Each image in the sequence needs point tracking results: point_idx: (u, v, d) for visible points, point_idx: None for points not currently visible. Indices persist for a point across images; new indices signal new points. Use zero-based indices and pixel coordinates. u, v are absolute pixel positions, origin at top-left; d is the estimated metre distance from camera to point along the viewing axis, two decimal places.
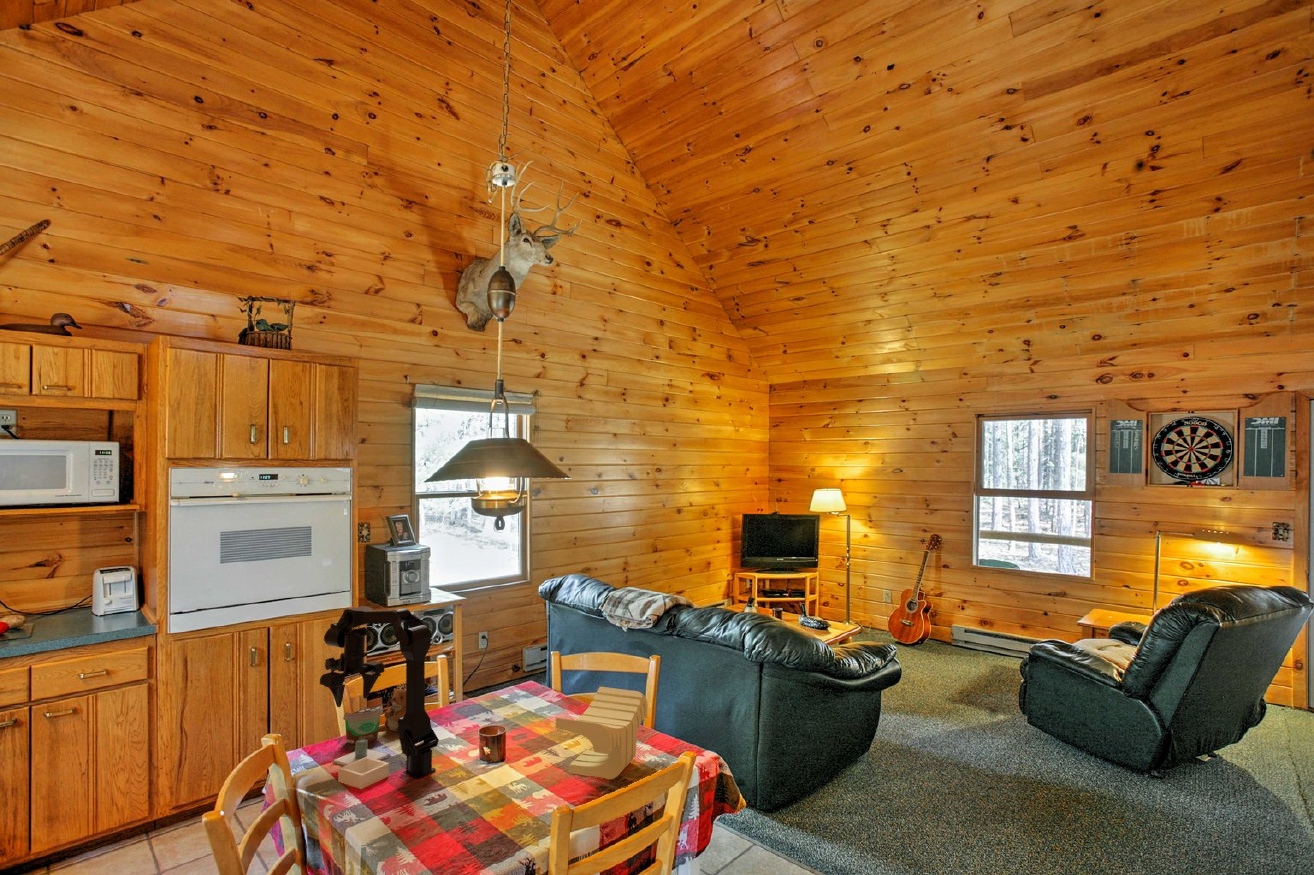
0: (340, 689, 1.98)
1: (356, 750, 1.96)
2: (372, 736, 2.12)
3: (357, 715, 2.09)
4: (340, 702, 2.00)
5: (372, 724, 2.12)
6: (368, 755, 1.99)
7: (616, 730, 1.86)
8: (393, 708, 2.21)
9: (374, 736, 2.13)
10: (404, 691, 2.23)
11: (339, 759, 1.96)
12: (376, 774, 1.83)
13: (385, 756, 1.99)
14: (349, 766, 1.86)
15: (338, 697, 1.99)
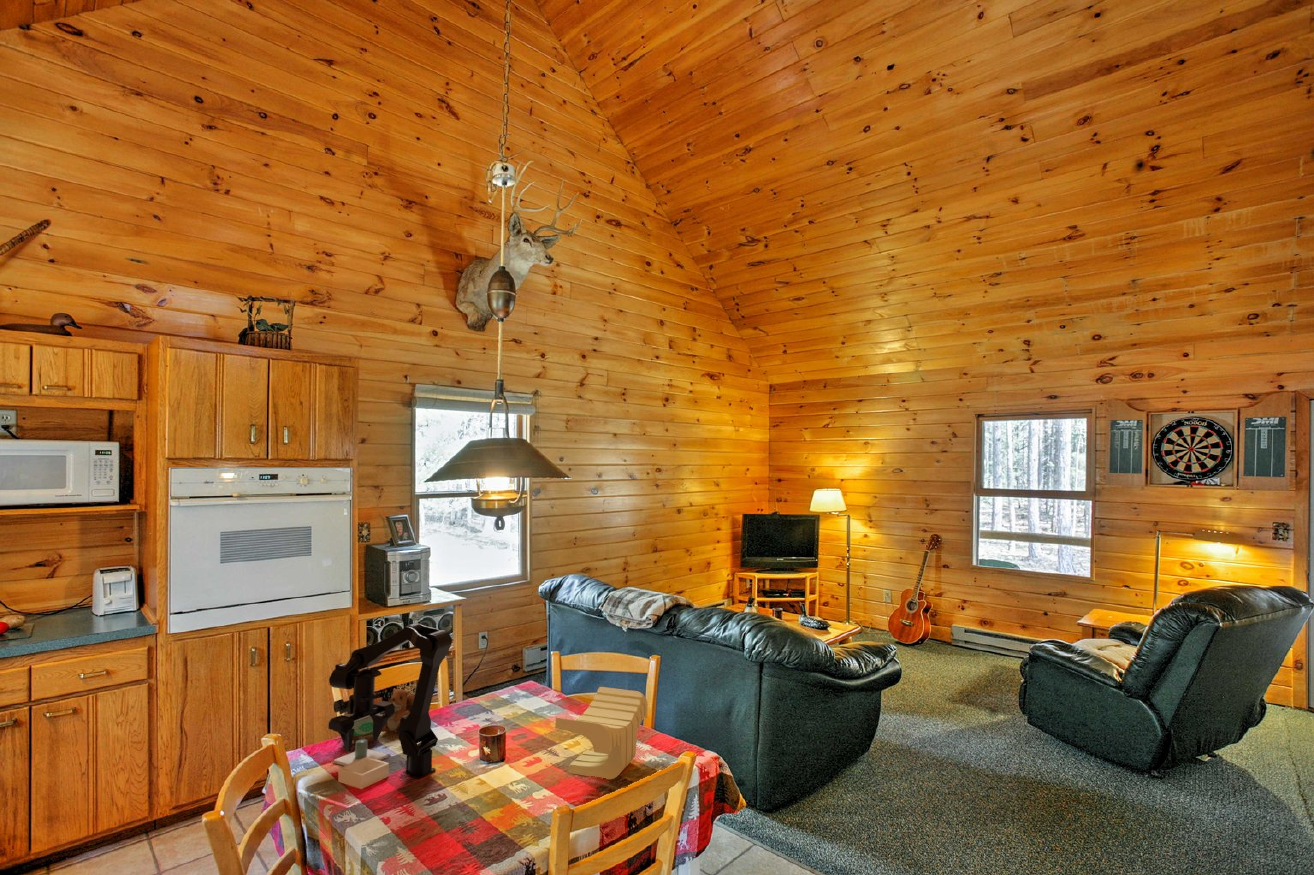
0: (349, 734, 1.91)
1: (356, 750, 1.96)
2: (372, 736, 2.12)
3: None
4: (349, 747, 1.93)
5: (372, 724, 2.12)
6: (368, 755, 1.99)
7: (616, 730, 1.87)
8: None
9: None
10: (403, 691, 2.23)
11: (339, 759, 1.96)
12: (376, 774, 1.83)
13: (385, 756, 1.99)
14: (349, 766, 1.86)
15: (347, 742, 1.92)
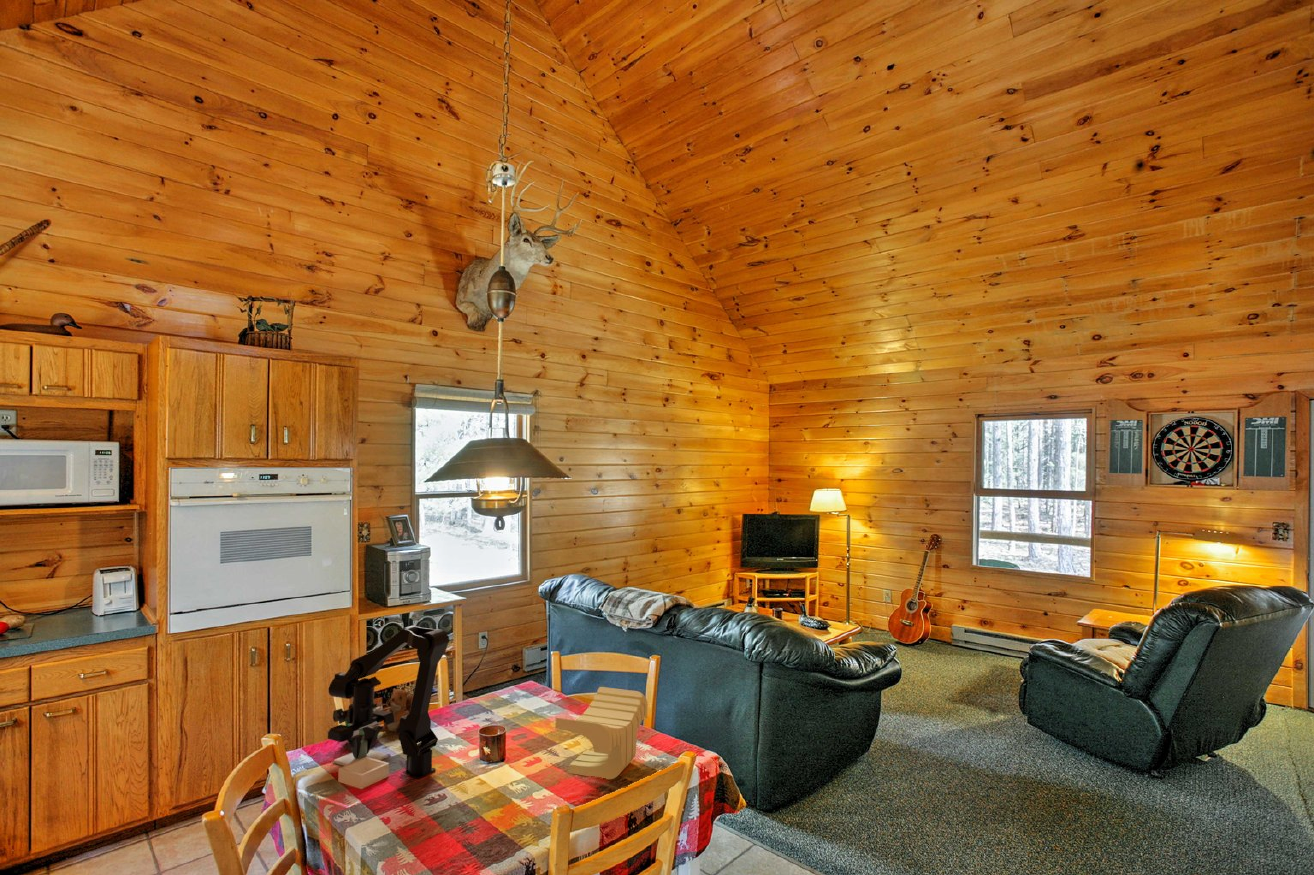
0: (357, 740, 1.93)
1: None
2: None
3: None
4: (357, 753, 1.95)
5: None
6: (368, 755, 1.99)
7: (616, 730, 1.86)
8: (392, 708, 2.21)
9: None
10: (403, 691, 2.23)
11: (339, 759, 1.96)
12: (376, 774, 1.83)
13: (385, 756, 1.99)
14: (349, 766, 1.86)
15: (355, 748, 1.95)
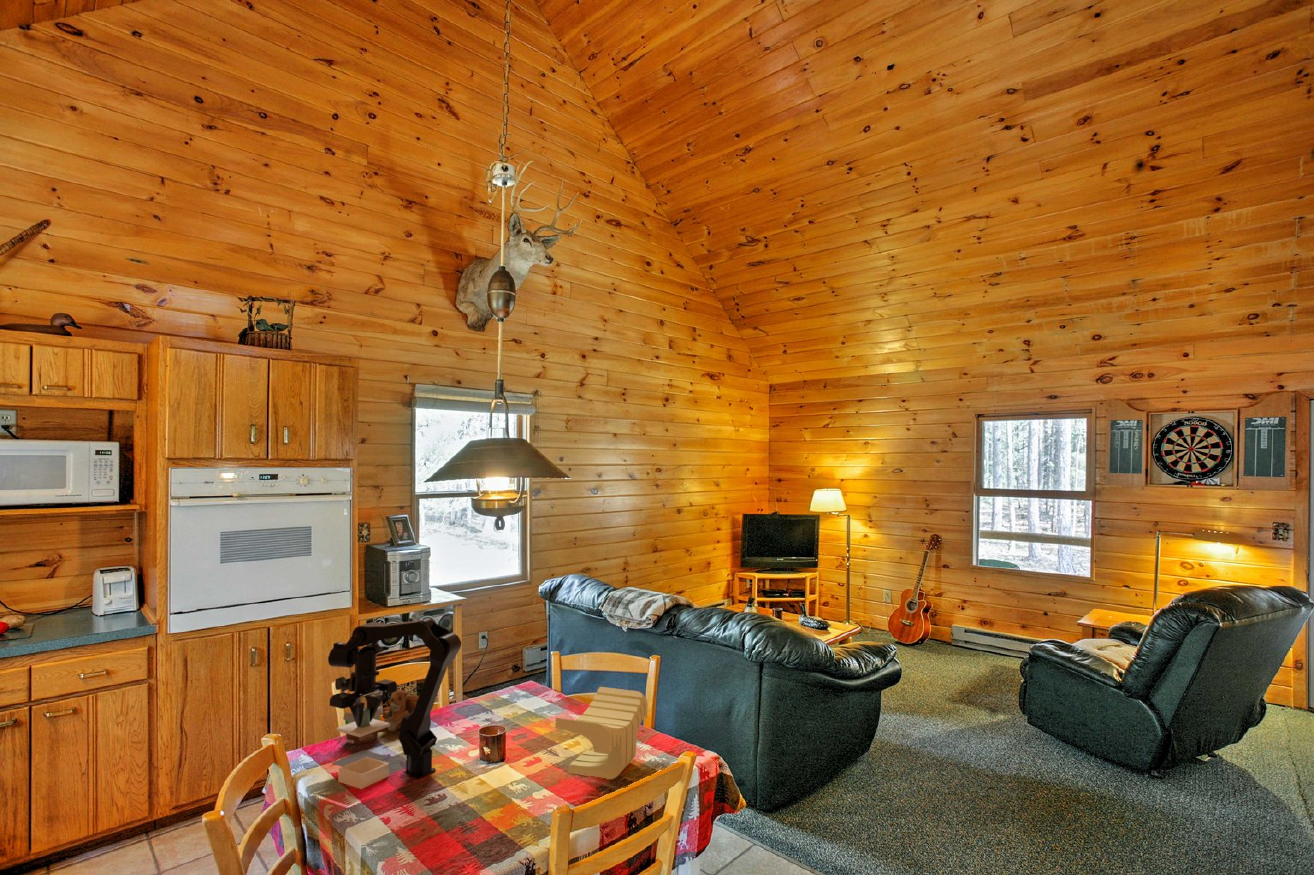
0: (360, 707, 1.91)
1: None
2: (372, 736, 2.12)
3: None
4: (360, 721, 1.93)
5: None
6: (371, 724, 1.96)
7: (616, 730, 1.86)
8: (391, 709, 2.21)
9: (374, 736, 2.13)
10: (402, 692, 2.22)
11: (341, 727, 1.93)
12: (376, 774, 1.83)
13: (388, 725, 1.97)
14: (349, 766, 1.86)
15: (358, 716, 1.92)
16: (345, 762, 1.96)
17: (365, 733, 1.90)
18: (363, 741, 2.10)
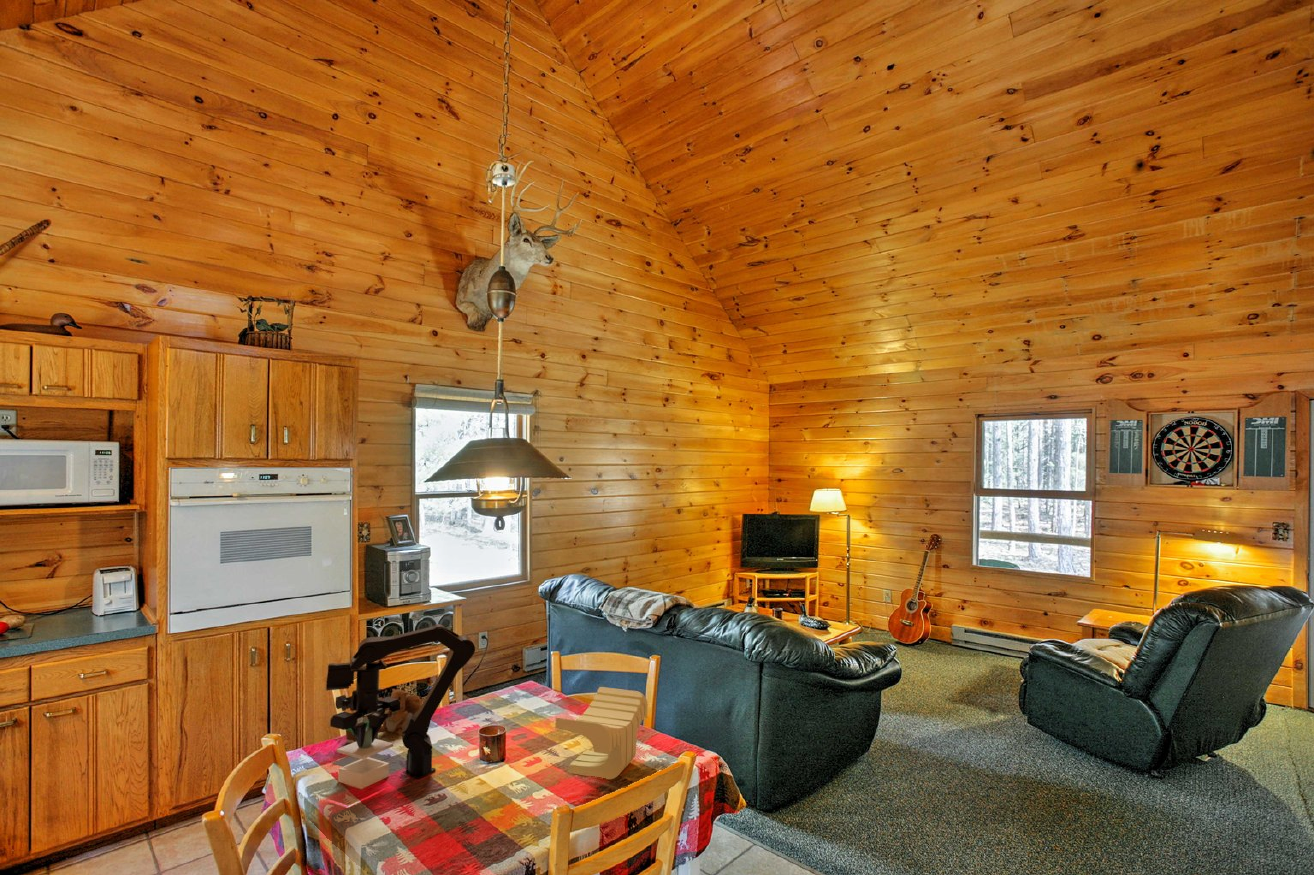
0: (362, 728, 1.82)
1: None
2: None
3: None
4: (362, 742, 1.84)
5: None
6: (373, 744, 1.87)
7: (616, 730, 1.87)
8: None
9: None
10: (402, 692, 2.22)
11: (342, 748, 1.84)
12: (376, 774, 1.83)
13: (391, 745, 1.87)
14: (349, 766, 1.86)
15: (359, 736, 1.83)
16: (345, 762, 1.96)
17: (367, 755, 1.81)
18: None
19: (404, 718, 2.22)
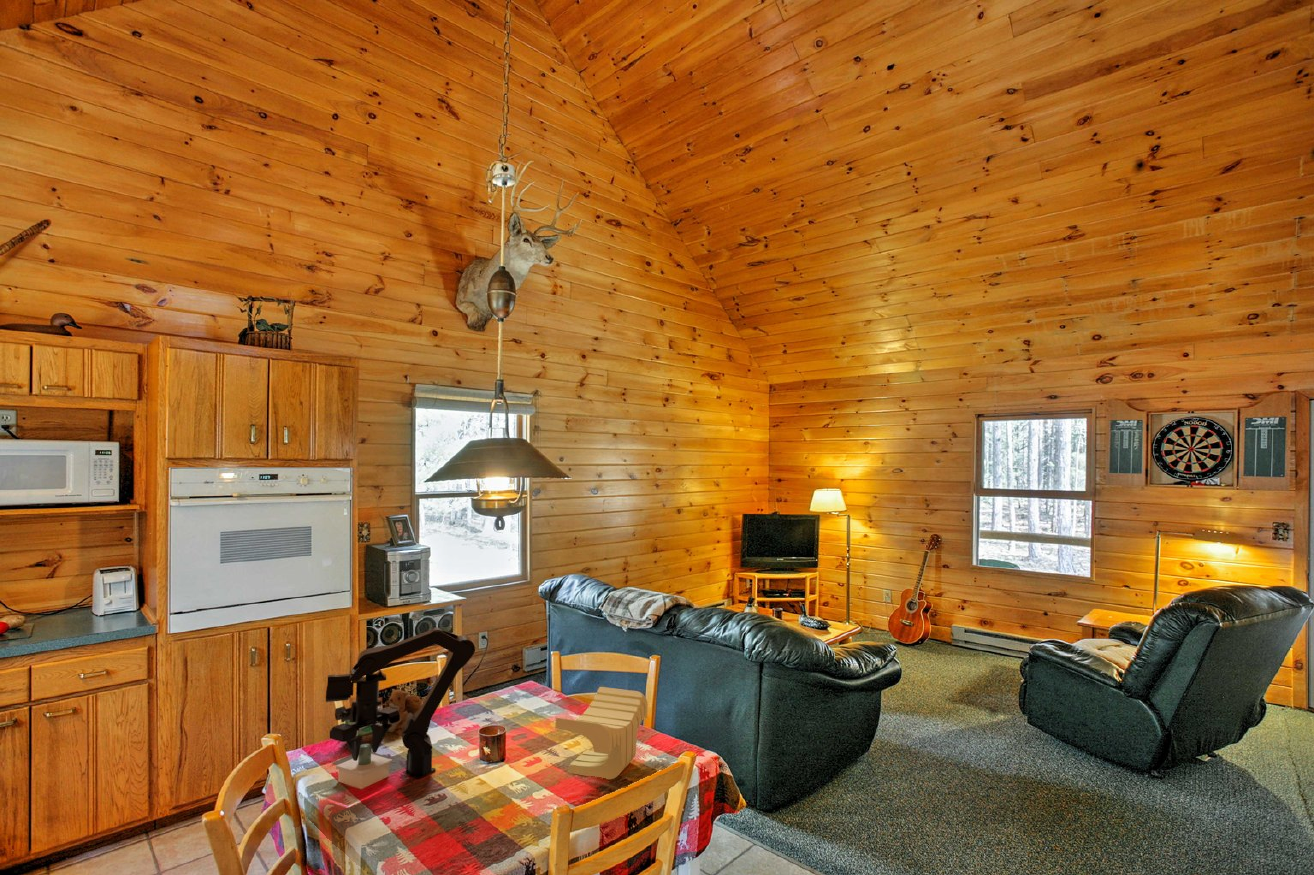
0: (357, 741, 1.80)
1: (359, 755, 1.84)
2: None
3: None
4: (357, 755, 1.82)
5: None
6: (372, 760, 1.87)
7: (616, 730, 1.86)
8: None
9: None
10: (402, 692, 2.22)
11: (341, 765, 1.84)
12: (376, 774, 1.83)
13: (390, 761, 1.87)
14: None
15: (355, 750, 1.82)
16: None
17: (367, 772, 1.80)
18: (363, 741, 2.10)
19: (404, 718, 2.22)
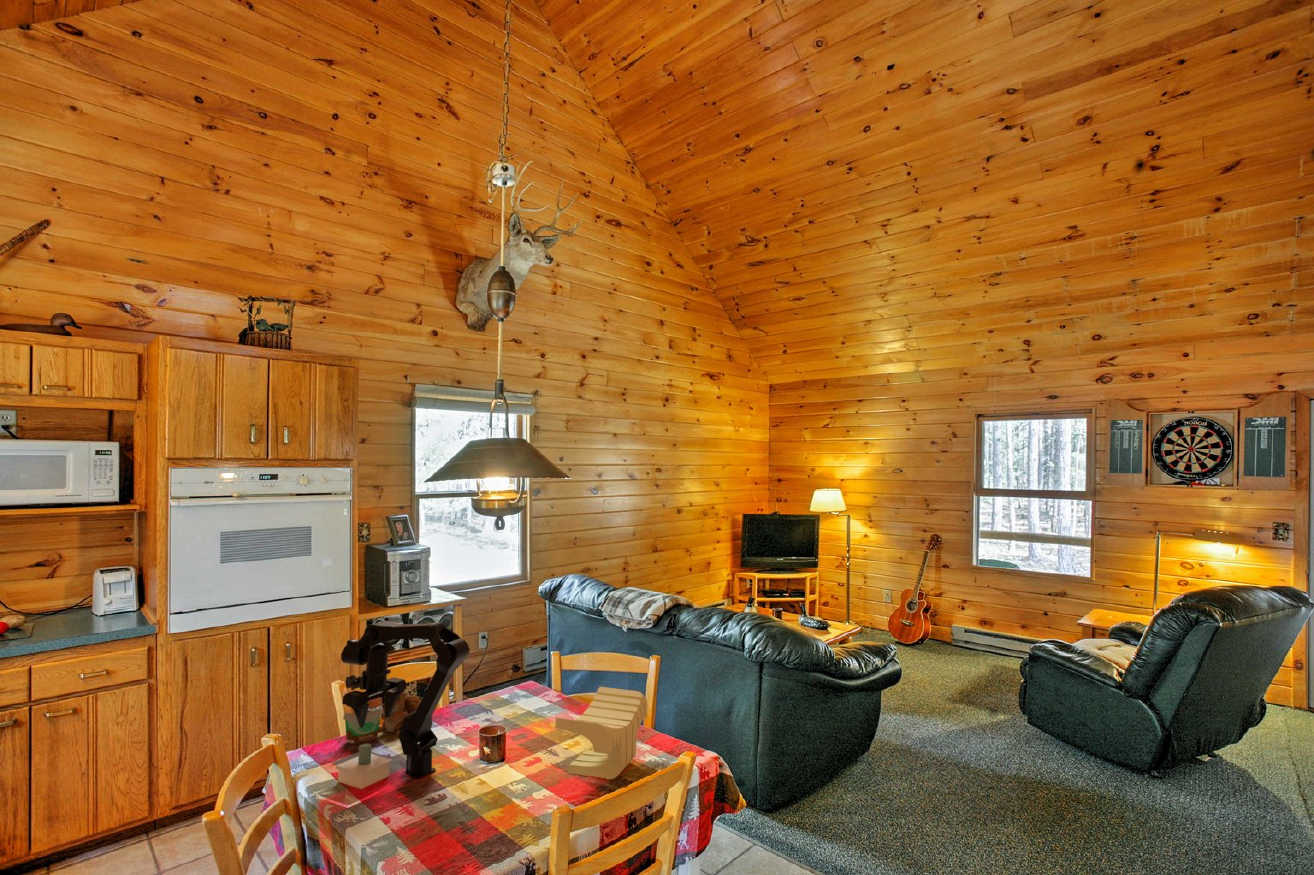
0: (364, 709, 1.89)
1: (359, 755, 1.84)
2: (372, 736, 2.12)
3: None
4: (363, 722, 1.91)
5: (372, 724, 2.12)
6: (372, 760, 1.87)
7: (616, 730, 1.86)
8: None
9: (374, 736, 2.13)
10: None
11: (341, 765, 1.84)
12: (376, 774, 1.83)
13: (390, 761, 1.87)
14: None
15: (361, 717, 1.90)
16: None
17: (367, 772, 1.80)
18: (363, 741, 2.10)
19: None
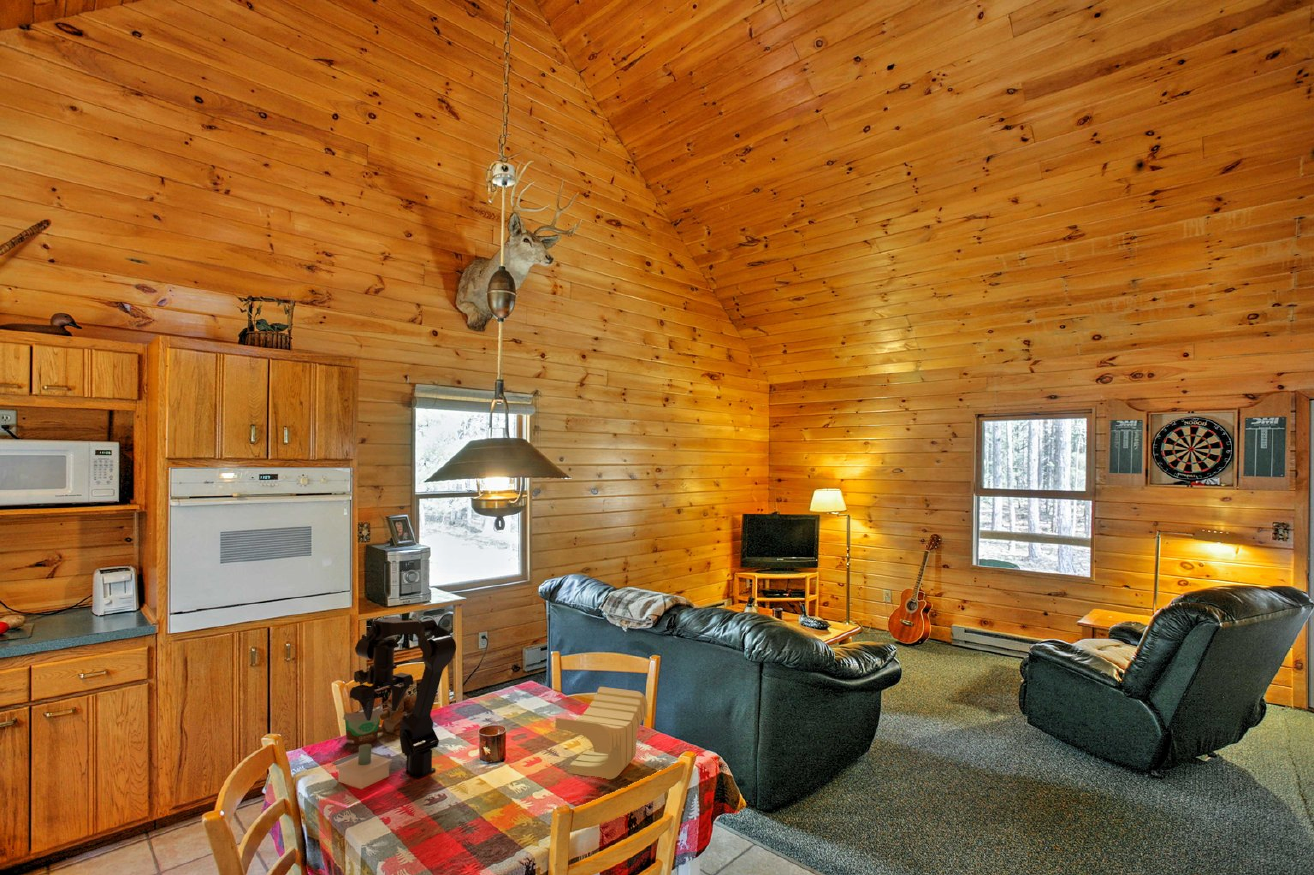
0: (370, 702, 1.95)
1: (359, 755, 1.84)
2: (372, 736, 2.12)
3: (357, 715, 2.09)
4: (370, 715, 1.97)
5: (372, 724, 2.12)
6: (372, 760, 1.87)
7: (616, 730, 1.86)
8: (389, 709, 2.20)
9: (374, 736, 2.13)
10: None
11: (341, 765, 1.84)
12: (376, 774, 1.83)
13: (390, 761, 1.87)
14: None
15: (368, 710, 1.96)
16: None
17: (367, 772, 1.80)
18: (363, 741, 2.10)
19: None
